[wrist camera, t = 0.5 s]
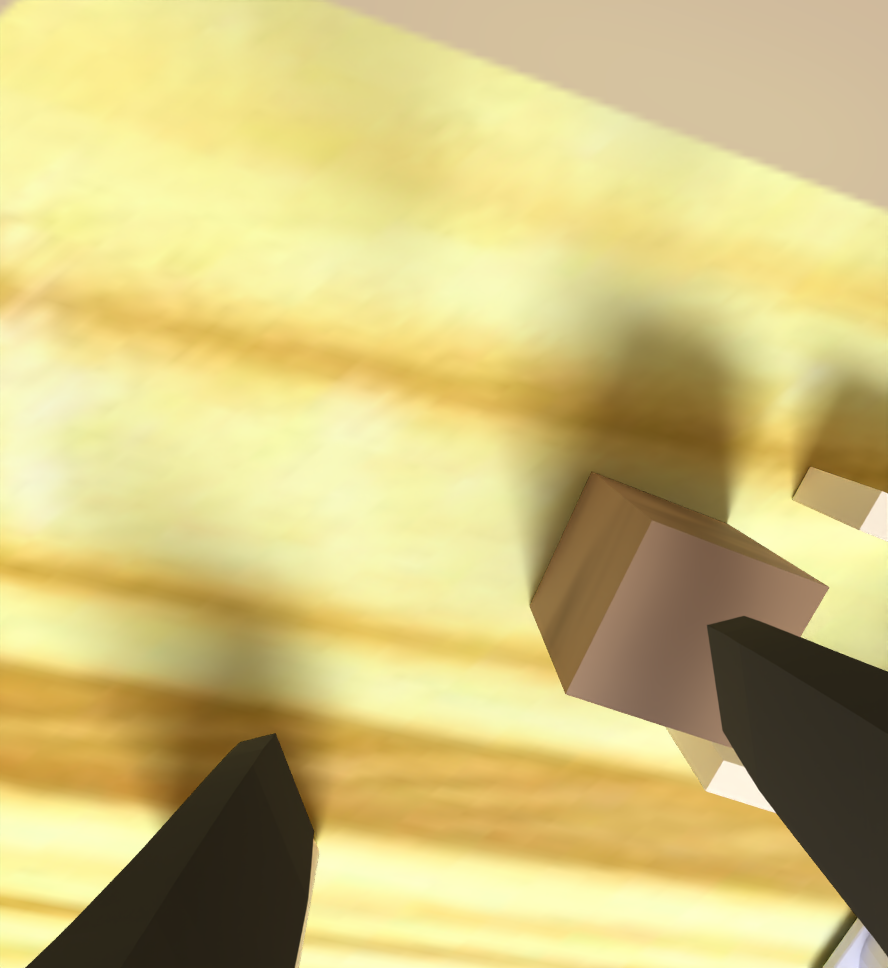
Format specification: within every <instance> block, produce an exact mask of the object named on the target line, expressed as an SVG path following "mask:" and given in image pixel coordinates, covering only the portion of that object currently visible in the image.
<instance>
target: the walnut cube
mask: <svg viewBox="0 0 888 968" xmlns="http://www.w3.org/2000/svg"><path fill="white" fill-rule="evenodd" d="M828 589H829V587H828V586H826V585H825V584H823V583H822V582H820V581H818V580H817V579H815V578H814V577H812V576H810V575H809V574H807V573H806V572H804V571H802V570H801V569H799V568H797V567H796V566H794V565H793V564H791V563H789V562H788V561H786V560H785V559H783V558H781V557H780V556H778V555H777V554H775V553H773V552H772V551H770V550H769V549H767V548H765V547H764V546H762V545H761V544H759V543H757V542H756V541H754V540H753V539H751V538H749V537H748V536H746V535H744V534H743V533H741V532H740V531H738V530H736V529H735V528H733V527H732V526H730V525H728V524H727V523H724V522H721V521H719V520H716V519H714V518H711V517H708V516H706V515H703V514H701V513H698V512H695V511H693V510H690V509H688V508H685V507H682V506H680V505H677V504H675V503H672V502H669V501H667V500H664V499H662V498H659V497H656V496H654V495H651V494H649V493H646V492H643V491H641V490H638V489H636V488H633V487H630V486H628V485H625V484H623V483H620V482H617V481H615V480H612V479H610V478H607V477H604V476H602V475H599V474H597V473H594V472H591V474H590V476H589V478H588V481H587V483H586V485H585V487H584V489H583V491H582V494H581V496H580V498H579V500H578V502H577V504H576V507H575V509H574V511H573V513H572V515H571V517H570V520H569V522H568V524H567V526H566V528H565V530H564V533H563V535H562V537H561V539H560V541H559V543H558V546H557V548H556V550H555V552H554V554H553V556H552V558H551V561H550V563H549V565H548V567H547V569H546V571H545V574H544V576H543V578H542V580H541V582H540V584H539V587H538V589H537V591H536V593H535V595H534V597H533V600H532V602H531V604H530V608H531V611H532V613H533V616H534V618H535V621H536V623H537V626H538V628H539V630H540V633H541V635H542V638H543V640H544V643H545V645H546V647H547V650H548V652H549V655H550V657H551V660H552V662H553V665H554V667H555V669H556V672H557V674H558V677H559V679H560V682H561V684H562V687H563V689H564V691H565V694H567V695H570V696H573V697H576V698H579V699H582V700H585V701H588V702H591V703H595V704H598V705H601V706H604V707H607V708H610V709H613V710H616V711H619V712H622V713H625V714H628V715H631V716H635V717H638V718H641V719H644V720H647V721H650V722H653V723H656V724H659V725H662V726H665V727H668V728H671V729H675V730H678V731H681V732H684V733H687V734H690V735H693V736H696V737H699V738H702V739H705V740H708V741H711V742H715V743H718V744H721V745H724V746H727V747H730V748H732V746H731V744H730V742H729V741H728V739H727V737H726V736H725V734H724V732H723V731H722V724H721V717H720V711H719V704H718V697H717V691H716V684H715V677H714V671H713V664H712V657H711V651H710V644H709V637H708V630H707V625H709V624H713V623H717V622H721V621H725V620H729V619H733V618H737V617H741V616H746V617H749V618H752V619H755V620H758V621H761V622H763V623H766V624H769V625H771V626H774V627H776V628H779V629H781V630H784V631H786V632H789V633H791V634H794V635H796V636H799V637H800V636H801V635H802V633H803V631H804V630H805V628H806V626H807V624H808V623H809V621H810V619H811V618H812V616H813V614H814V613H815V611H816V609H817V608H818V606H819V604H820V602H821V601H822V599H823V597H824V596H825V594H826V592H827V591H828Z"/></svg>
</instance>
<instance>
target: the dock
mask: <svg viewBox="0 0 888 968" xmlns="http://www.w3.org/2000/svg"><path fill="white" fill-rule="evenodd" d="M792 500H793V501H796V502H798V503H800V504H802V505H804V506H807V507H809V508H811V509H813V510H816V511H818V512H820V513H822V514H824V515H827V516H829V517H831V518H833V519H836V520H838V521H840V522H842V523H844V524H847V525H849V526H851V527H853V528H856V529H858V530H860V531H863V532H865V533H868V534H870V535H873V536H875V537H878V538H880V539H883V540H885V541H888V493H885V492H883V491H880V490H877V489H874V488H871V487H869V486H866V485H863V484H860V483H857V482H854V481H851V480H848V479H845V478H842V477H839V476H837V475H834V474H831V473H828V472H825V471H822V470H819V469H816V468H813V467H810V468H809V470H808V472H807V474H806V475H805V477H804V479H803V481H802V483H801V484H800V486H799V488H798V490H797V492H796V493H795V495H794V497H793V499H792ZM666 729H667V730H668V732H669V734H670V735H671V737H672V738H673V740H674V741H675V743H676V745H677V746H678V748H679V749H680V751H681V753H682V754H683V756H684V757H685V759H686V761H687V762H688V764H689V765H690V767H691V769H692V770H693V772H694V773H695V775H696V777H697V778H698V780H699V781H700V783H701V785H702V786H703V788H704V789H705V791H707V792H710V793H714V794H717V795H720V796H723V797H726V798H730V799H733V800H736V801H739V802H742V803H746V804H749V805H752V806H755V807H758V808H761V809H765V810H768V811H771V812H774V813H776V812H775V811H774V810H773V808H772V807H771V806H770V804H769V803H768V802H767V800H766V799H765V798H764V796H763V795H762V794H761V792H760V791H759V790H758V788H757V787H756V785H755V783H754V782H753V780H752V779H751V777H750V775H749V774H748V772H747V771H746V769H745V767H744V766H743V764H742V763H741V761H740V759H739V758H738V756H737V754H736V753H735V751H734V749H733V748H730V747H727V746H724V745H721V744H718V743H715V742H711V741H708V740H705V739H702V738H699V737H696V736H693V735H690V734H687V733H684V732H681V731H678V730H675V729H671V728H668V727H666Z"/></svg>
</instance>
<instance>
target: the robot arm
mask: <svg viewBox="0 0 888 968" xmlns="http://www.w3.org/2000/svg"><path fill="white" fill-rule="evenodd" d="M707 630H708V637H709V644H710V651H711V657H712V664H713V671H714V677H715V684H716V691H717V697H718V704H719V711H720V717H721V724H722V731H723V732H724V734H725V736H726V737H727V739H728V741H729V742H730V744H731V746H732V748H733V749H734V751H735V753H736V754H737V756H738V758H739V759H740V761H741V763H742V764H743V766H744V767H745V769H746V771H747V772H748V774H749V775H750V777H751V779H752V780H753V782H754V783H755V785H756V787H757V788H758V790H759V791H760V792H761V794H762V795H763V796H764V798H765V799H766V800H767V802H768V803H769V804H770V806H771V807H772V808H773V810H774V811H775V812H776V813H777V815H778V816H779V817H780V819H781V820H782V821H783V823H784V824H785V825H786V826H787V828H788V829H789V830H790V832H791V833H792V834H793V836H794V837H795V838H796V839H797V841H798V842H799V843H800V845H801V846H802V847H803V848H804V850H805V851H806V852H807V853H808V855H809V856H810V857H811V859H812V860H813V861H814V862H815V864H816V865H817V866H818V868H819V869H820V870H821V871H822V873H823V874H824V875H825V876H826V878H827V879H828V880H829V882H830V883H831V884H832V885H833V887H834V888H835V889H836V891H837V892H838V893H839V894H840V896H841V897H842V898H843V899H844V901H845V902H846V903H847V905H848V906H849V907H850V908H851V910H852V911H853V912H854V914H855V915H856V916H857V917H858V918H857V919H856V921H855V922H854V924H853V925H852V926H851V928H850V929H849V931H848V932H847V934H846V935H845V936H844V938H843V939H842V941H841V942H840V943H839V945H838V946H837V948H836V949H835V951H834V952H833V953H832V955H831V956H830V958H829V959H828V960H827V962H826V963H825V965H824V966H823V968H888V672H887V671H885V670H882V669H879V668H877V667H874V666H872V665H869V664H866V663H864V662H861V661H859V660H856V659H854V658H851V657H848V656H846V655H843V654H841V653H838V652H836V651H833V650H831V649H828V648H826V647H823V646H821V645H818V644H816V643H814V642H811V641H809V640H806V639H804V638H801V637H799V636H796V635H794V634H791V633H789V632H786V631H784V630H781V629H779V628H776V627H774V626H771V625H769V624H766V623H763V622H761V621H758V620H755V619H752V618H749V617H746V616H741V617H737V618H733V619H729V620H725V621H721V622H717V623H713V624H709V625H707ZM313 838H314V830H313V828H312V825H311V823H310V820H309V817H308V815H307V812H306V810H305V807H304V805H303V802H302V800H301V797H300V794H299V792H298V789H297V787H296V784H295V782H294V779H293V776H292V774H291V771H290V769H289V766H288V764H287V761H286V759H285V756H284V753H283V751H282V748H281V746H280V743H279V741H278V738H277V736H276V733H274V734H270V735H266V736H262V737H258V738H255V739H251V740H247V741H243V742H240V743H239V744H238V745H237V746H236V747H234V748H233V749H232V750H231V751H230V752H229V753H228V754H227V756H226V757H225V758H224V759H223V760H222V761H221V762H220V763H219V764H218V765H217V766H216V767H215V768H214V770H213V771H212V772H211V773H210V774H209V775H208V776H207V777H206V778H205V780H204V781H203V782H202V783H201V784H200V785H199V786H198V787H197V788H196V790H195V791H194V792H193V793H192V794H191V795H190V796H189V797H188V799H187V800H186V801H185V802H184V803H183V804H182V805H181V806H180V808H179V809H178V810H177V811H176V812H175V813H174V814H173V815H172V816H171V818H170V819H169V820H168V821H167V822H166V823H165V824H164V825H163V826H162V828H161V829H160V830H159V831H158V832H157V833H156V834H155V835H154V836H153V838H152V839H151V840H150V841H149V842H148V843H147V844H146V845H145V847H144V848H143V849H142V850H141V851H140V852H139V853H138V854H137V855H136V856H135V857H134V858H133V859H132V860H131V861H130V863H129V864H128V865H127V866H126V867H125V868H124V869H123V870H122V871H121V872H120V873H119V874H118V875H117V876H116V877H115V878H114V879H113V880H112V881H111V882H110V883H109V884H108V886H107V887H106V888H105V889H104V890H103V891H102V892H101V893H100V894H99V895H98V896H97V897H96V898H95V899H94V900H93V901H92V902H91V903H90V904H89V905H88V906H87V907H86V909H85V910H84V911H83V912H82V913H81V914H80V915H79V916H78V917H77V918H76V919H75V920H74V921H73V922H72V923H71V924H70V925H69V926H68V927H67V928H66V929H65V930H64V931H63V932H62V933H61V934H60V935H59V936H58V937H57V938H56V939H55V940H54V941H53V942H52V943H51V944H50V945H49V946H48V947H46V948H45V949H44V950H43V951H42V952H41V953H40V954H39V955H38V956H37V957H36V958H35V959H34V960H33V961H32V962H31V963H30V964H29V965H28V966H27V967H25V968H295V965H296V960H297V955H298V950H299V945H300V940H301V935H302V930H303V925H304V920H305V914H306V909H307V904H308V897H309V887H310V876H311V866H312V852H313Z"/></svg>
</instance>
